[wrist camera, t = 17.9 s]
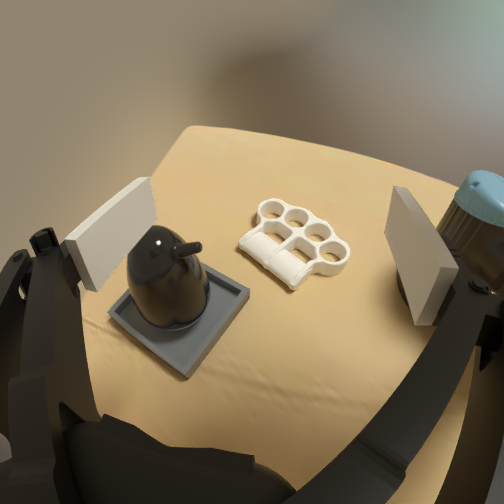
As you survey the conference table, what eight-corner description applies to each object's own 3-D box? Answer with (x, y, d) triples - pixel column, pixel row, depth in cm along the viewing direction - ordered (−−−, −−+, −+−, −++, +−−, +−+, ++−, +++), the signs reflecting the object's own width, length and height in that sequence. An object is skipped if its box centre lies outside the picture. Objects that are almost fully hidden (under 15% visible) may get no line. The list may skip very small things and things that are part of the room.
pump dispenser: (208, 346, 35) (187, 285, 23) (135, 333, 36) (86, 270, 24) (220, 280, 41) (211, 202, 30) (154, 272, 42) (125, 197, 30)
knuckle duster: (225, 240, 48) (281, 200, 55) (308, 308, 41) (359, 252, 47) (224, 227, 46) (283, 187, 52) (313, 296, 38) (364, 240, 44)
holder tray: (173, 254, 46) (170, 244, 44) (249, 297, 41) (249, 289, 39) (113, 319, 38) (107, 312, 36) (188, 379, 33) (184, 375, 31)
